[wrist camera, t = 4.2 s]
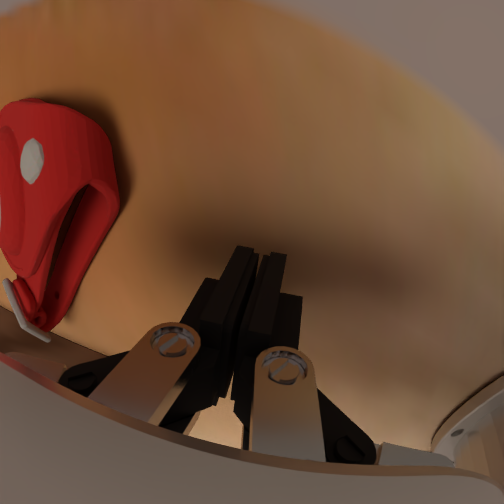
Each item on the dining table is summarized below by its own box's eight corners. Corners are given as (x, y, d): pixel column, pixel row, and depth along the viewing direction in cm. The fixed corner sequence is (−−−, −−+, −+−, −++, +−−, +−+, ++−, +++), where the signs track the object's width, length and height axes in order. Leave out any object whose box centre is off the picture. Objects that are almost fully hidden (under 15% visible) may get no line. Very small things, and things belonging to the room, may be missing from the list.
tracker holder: (-32, 145, 11) (21, 37, 6) (28, 137, 15) (118, 50, 10) (13, 351, 13) (94, 404, 8) (69, 323, 17) (178, 344, 12)
